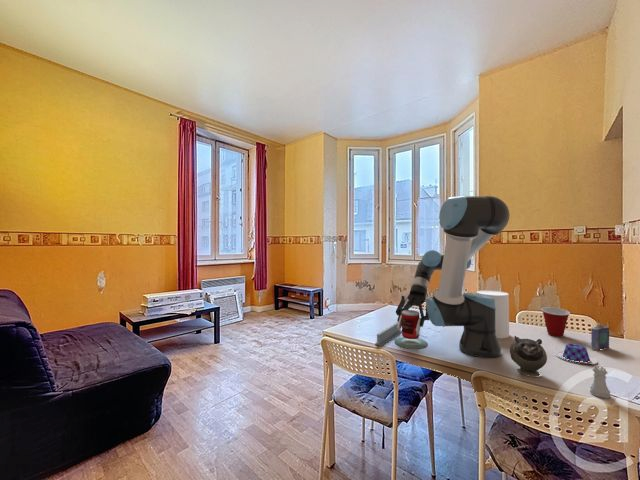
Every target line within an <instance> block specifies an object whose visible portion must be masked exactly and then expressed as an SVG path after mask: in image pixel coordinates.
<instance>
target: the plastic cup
mask: <svg viewBox="0 0 640 480" xmlns="http://www.w3.org/2000/svg"><path fill="white" fill-rule="evenodd" d="M540 310H541V311H542V315H543V319H544V322H545V324H544V325H545V328H546V332H547V335H549V336H552V335H554V336H553V337H557V336H563V337H564V335H565V330H566V328H567V321H568V319H569V315H570V314H571V312H570V311H568V310H566V309H562V308H557V307H542V308H540Z"/></svg>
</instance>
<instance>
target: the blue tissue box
mask: <svg viewBox="0 0 640 480" xmlns="http://www.w3.org/2000/svg"><path fill="white" fill-rule="evenodd" d="M596 324H597V325H596V326H593V327H591V328H590V329H591V331H590V333H591V334H590V335H591V336H590V337H591V338H590V339H591V342H590V343H591V344H590V345H591V350H592V349H593V350H592V351H595V350H600V349H604V348H609V349H610V327H609V326H607V325H603V323H600V322H597V323H596ZM604 350H605V349H604ZM600 351H601V350H600Z"/></svg>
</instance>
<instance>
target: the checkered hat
mask: <svg viewBox="0 0 640 480" xmlns="http://www.w3.org/2000/svg"><path fill="white" fill-rule="evenodd" d="M563 350H564V351H557V352H556V353H555V355H556V357H558V358H560V359H562V360H564V361H568V360H567V359H569V360H574V361H579V362H580V361H583V362H588V361H590V358H589V357H591V356H590V355H589V353H588V350H587V348H586V347H584V346H583V345H580V344H578V343H577V344H576V343H566V344H565V347H564V349H563ZM563 352H564V353H563ZM559 353H563V355H562V356H563V357H565V358H564V359H563V358H561V357H559V356H558V354H559ZM591 358H593V359H594V360H595V361H596V363H595V364H594V365H596V364H598V360H597V359H596V358H594V357H591ZM565 359H566V360H565ZM574 361H573V362H574ZM568 362H571V361H568ZM571 363H572V362H571ZM588 363H589V362H588ZM575 364H577V363H576V362H575Z"/></svg>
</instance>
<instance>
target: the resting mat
mask: <svg viewBox="0 0 640 480" xmlns="http://www.w3.org/2000/svg"><path fill="white" fill-rule="evenodd" d="M394 343H395V345H397V346H399V347H401V348H405V349H411V350H422V349H424V348H427V347H428V342H427V341H426V340H424V339H422V338H420V337H419V338H417V339H407V338H404V337H403V336H402V337H400V336H399V337H397V338H395V339H394Z"/></svg>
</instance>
